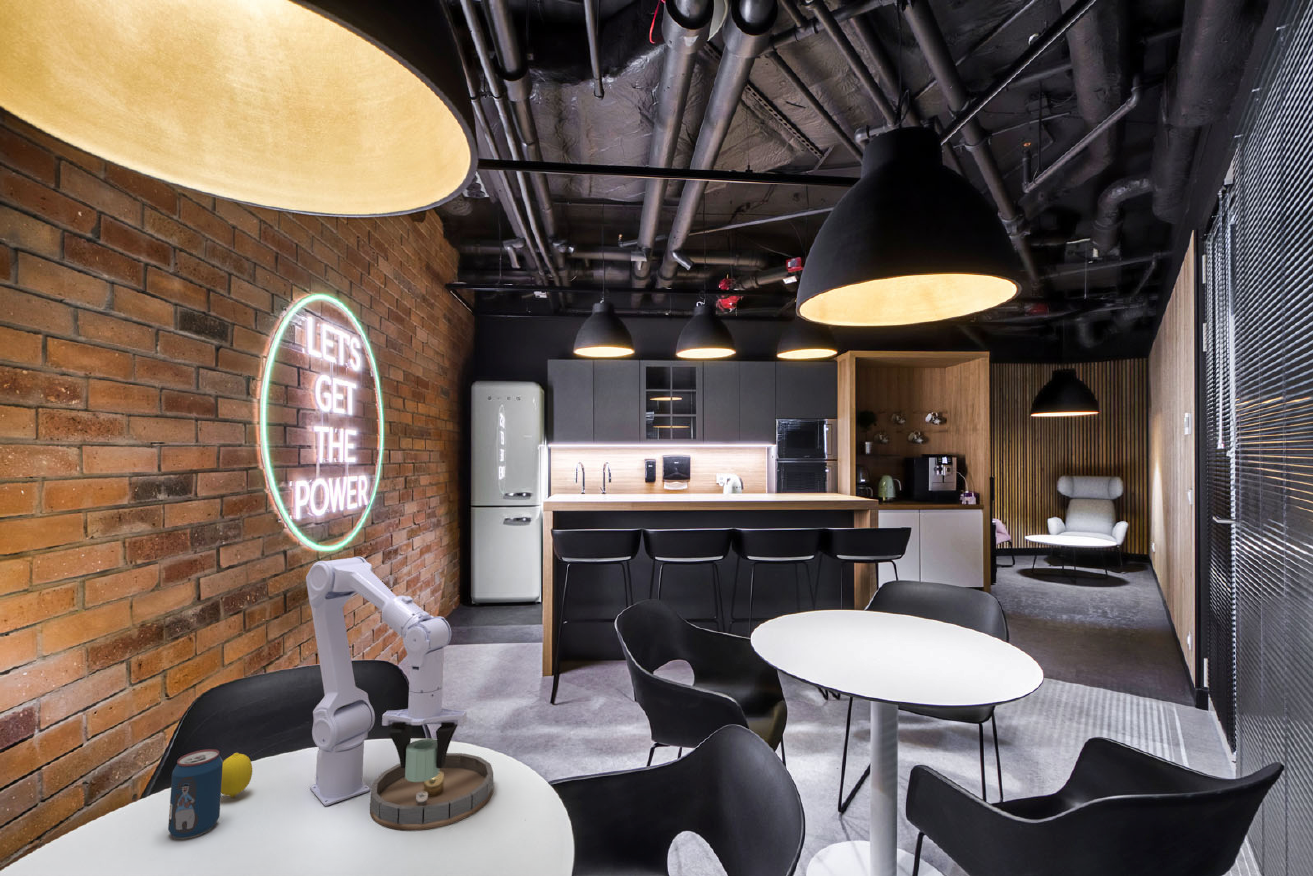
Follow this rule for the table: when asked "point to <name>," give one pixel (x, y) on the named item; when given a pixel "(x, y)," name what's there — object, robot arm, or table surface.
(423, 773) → the gear
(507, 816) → the table surface
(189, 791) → the soda can
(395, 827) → the tray
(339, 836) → the table surface
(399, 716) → the robot arm
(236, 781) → the lemon
